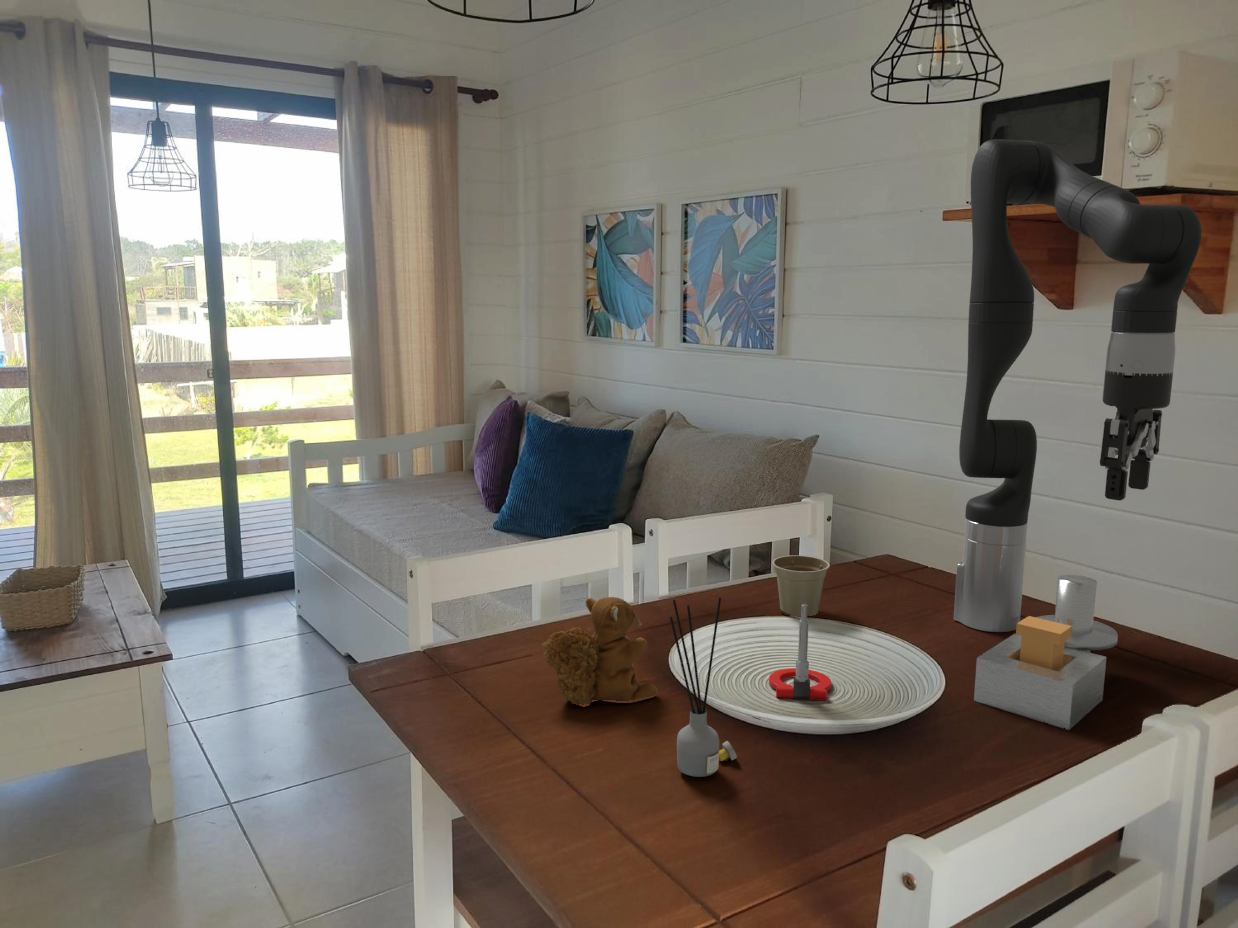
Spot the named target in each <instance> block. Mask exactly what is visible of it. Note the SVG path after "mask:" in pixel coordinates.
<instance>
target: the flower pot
mask: <svg viewBox="0 0 1238 928" xmlns="http://www.w3.org/2000/svg"><path fill="white" fill-rule="evenodd" d="M771 563H772V566H773V567H774V568H773V569H774V573H775V574H776V579H777V580H776V581H777V590H778V600H779V608H780V609H781V610H782V611H784V612H786V613H789V614H791V615H790V616H797V617H801V609H802V604H807V605H808V608H807V617H811V616H813V615H815V616H817V615H818V613H819V608H820V601H821V598H822V597H821V596H822V590H823V585H824V580H825V577H826V576H827V572H828V570H829V568H830V566H831V565H830V563H829V562H828V561H827V560H825V559H822V558H820V557H815V556H811V555H810V556H809V555H797V554H796V555H794V554H793V555H783V556H779V557H776V558H774V559H773V560H772V562H771ZM781 610H780V611H781ZM784 612H783V613H784ZM816 614H817V615H816ZM790 616H789V617H790ZM797 617H796V618H797ZM813 617H814V616H813Z"/></svg>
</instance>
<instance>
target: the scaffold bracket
mask: <svg viewBox="0 0 1238 928" xmlns="http://www.w3.org/2000/svg"><path fill="white" fill-rule="evenodd" d="M1097 585H1098V582H1097V580H1095V579H1094V578H1092V577H1087V576H1084V575H1079V574H1077V575H1076V574H1063V575H1059V576H1058V577H1057V586H1056V597H1055V609H1054V614H1048V615H1040V616H1036V618H1040V619H1044V620H1048V621H1053V622H1057V623H1061V624H1065V625H1070V626H1072V633H1071V638H1069V639H1068V640H1066V641H1065V643H1064V654H1063V666H1062V669H1061V670H1059V671H1055V670H1051V669H1047V668H1044V667H1040V666H1036V665H1032V664H1029V663H1025V662H1021V661H1020V650H1021V637H1022V636H1020V635H1016V633H1013V634H1012V635H1010V636H1008V637H1007V638H1005V639H1004V640H1002V641H1001V642H999V643H998V644H996V645H995V646H993V647H991V648H990V649H988V650H987V651H985V652H984V653H982V654H980V655H979V656H978V657H976V662H975V663H976V665H975V678H974V679H975V681H974V693H973V701H974V702H976V703H979V704H982V705H987V706H989V707H993V708H997V709H999V710H1003V711H1005V712H1009V713H1013V714H1016V715H1019V716H1022V717H1026V718H1029V719H1032V720H1035V721H1038V722H1041V723H1044V722H1045V724H1047V723H1048V725H1051V726H1054V727H1056V728H1057V727H1058V728H1061V729H1064V728H1065V729H1064V730H1066V731H1070V730H1071V729H1072V728H1073V727H1074V726H1075V725H1077V724H1078V723H1079V722H1080V721H1081V720H1082V719H1083V718H1085V717H1086V716H1087V714H1088V713H1090V712H1091V711H1092V710H1093V709H1094V708H1095V707H1097V705H1099V704H1100V703H1101V702H1102V701H1103V699H1104V698H1103V697H1104V688H1105V687H1104V686H1105V677H1106V676H1105V675H1106V667H1107V665H1106V664H1107V656H1104V655H1101V654H1098V653H1097V654H1096V653H1091V651H1103V650H1107V649H1111V648H1114V647H1115V646H1116V645H1117V643H1118V637H1119V636H1118V635H1119V633H1118V632H1117V630H1115V629H1114V628H1113V627H1112V626H1109V625H1108V624H1105V623H1103V622H1100V621H1097V620H1095V619H1094V617H1095V608H1096V607H1095V605H1096V596H1097V595H1096V594H1097Z"/></svg>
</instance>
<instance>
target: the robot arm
mask: <svg viewBox="0 0 1238 928" xmlns="http://www.w3.org/2000/svg"><path fill="white" fill-rule="evenodd" d="M1010 204H1011V205H1026V204H1038V205H1046V206H1051V207H1053V208H1055V209H1054V210H1055V212H1056V215H1057V217H1058V218H1059V219H1060V221H1061V222H1063V224H1065V225H1066V226H1067V227H1068V228H1070V229H1072V230H1074V231H1075V232H1077V233H1079V234H1081V235H1083V236H1085V237H1087V238H1089V239H1091V240H1093V242H1094V243H1095V244H1096V245H1097V247H1098V248H1099V249H1100V250H1101V252H1102V253H1103V254H1104V255H1105V256H1107V257H1108V258H1110V259H1112V260H1114V261H1117V262H1120V263H1124V264H1133V265H1134V264H1135V265H1136V264H1140V265H1141V264H1148V266H1147V269H1146V270H1145V272H1144V275H1143V277H1142V278H1141V280H1139V281H1137V282H1133V283H1130V284H1129V283H1128V284H1125V285H1124V286H1122V287H1120V288H1118V289H1117V291H1116V292H1115V295H1114V299H1113V300H1114V301H1113V308H1112V310H1113V311H1112V317H1111V329H1110V330H1111V332H1110V337H1109V340H1108V345H1107V350H1106V351H1107V352H1106V356H1105V357H1106V358H1105V369H1104V381H1103V382H1104V383H1103V391H1102V402H1103V404H1104V405H1106V406H1110V407H1115V408H1116V413H1115V418H1108V417H1107V418H1105V420H1104V423H1103V425H1104V426H1103V433H1102V442H1101V450H1100V451H1101V452H1100V459H1099V465H1100V467H1104V468H1105V470H1107V471H1106V478H1105V491H1104V497H1105V498H1106V499H1108V500H1113V501H1123V500H1125V498H1126V496H1127V485H1128V487H1129V488H1130V489H1135V490H1139V491H1140V490H1142V491H1143V490H1146V489H1148V487H1149V482H1150V480H1149V479H1150V474H1151V473H1150V472H1151V463H1152V462H1153V460H1154V458H1155V455H1158V454H1159V453H1160V452H1159V451H1160V439H1161V427H1162V416H1163V412H1162V409H1165V408H1168V407H1169V405H1170V404H1171V397H1172V396H1171V395H1172V388H1173V387H1172V386H1173V377H1174V368H1175V360H1176V359H1175V358H1176V340H1175V339H1176V333H1175V332H1176V327H1177V317H1178V308H1179V307H1178V305H1179V299H1180V297H1181V294H1182V292H1183V290H1184V287H1185V285H1186V283H1187V280H1188V277H1189V274H1190V273H1191V269H1192V267H1193V265H1194V262H1195V260H1196V259H1197V254H1198V252H1199V249H1200V246H1201V242H1202V225H1201V222H1200V219H1199V216H1198V214H1197V213H1196V212H1195V211H1194V210H1193V209H1192V208H1191V207H1188V206H1187V205H1183V204H1142V203H1141V201H1140V200H1139V198H1138V197H1137V196H1136V195H1135V194H1134V193H1133V192H1131V191H1129V190H1127V189H1125V188H1123V187H1121V186H1118V185H1116V184H1113V183H1111V182H1108V181H1105V180H1103V179H1100V178H1098V177H1096V176H1093V175H1091V174H1088V173H1086V172H1085V171H1083V170H1082V169H1080V168H1078V167H1077V166H1076V165H1074V164H1073V163H1071V162H1070V161H1068V160H1067V159H1066V158H1064V157H1063V156H1062V155H1061V154H1060V153H1059V152H1058V151H1056V150H1055V149H1053V148H1052V147H1050V146H1049V145H1047V144H1045V143H1043V142H1040V141H1035V140H1023V139H1022V140H1021V139H1020V140H1019V139H1000V138H999V139H998V138H997V139H989V140H987V141H984V142H983V143H982V144H981V145H980V146H979V148H978V149H977V151H976V153H975V154H974V159H973V162H972V166H971V173H970V207H971V211H970V212H971V229H972V230H971V232H972V238H971V239H972V256H971V258H972V260H971V282H970V294H969V301H968V302H969V305H968V322H967V323H968V324H967V328H968V329H967V330H968V332H967V334H968V335H967V371H966V385H965V391H964V392H965V395H964V401H963V403H964V404H963V411H962V418H961V427H960V438H959V448H958V451H959V453H958V454H959V459H958V460H959V466H960V469H961V471H962V474H964V475H965V476H966V477H968V478H979V479H1004V480H1003V482H1002V483H1001V484H1000V485H999V486H998V487H996V488H995V489H993V490H991V491H989V492H986V493H984V494H979V495H977V496H974V497H972V498H969V500H968V501H967V503H966V504H965V513H964V514H965V515H964V516H965V517H964V518H965V519H964V534H963V550H962V561H961V562H959V563H958V564H957V565H956V575H955V576H956V577H955V592H954V593H955V594H954V609H953V621H957V622H959V623H961V624H963V625H964V626H966V627H969V628H972V629H974V630H978V631H984V632H989V633H990V632H992V633H994V632H995V633H1006V632H1012V631H1016V625H1017V623H1018V622H1020V621H1021V617H1022V616H1021V615H1022V614H1021V610H1022V609H1021V608H1022V600H1023V599H1022V598H1023V585H1024V574H1025V573H1024V572H1025V562H1026V561H1025V559H1026V547H1027V534H1028V533H1027V532H1028V519H1029V512H1030V506H1031V499H1032V489H1033V481H1034V473H1035V468H1036V462H1037V461H1036V459H1037V450H1038V438H1037V431H1036V430H1035V429H1036V428H1035V427H1034V426H1033V424H1032V423H1031V422H1030V421H1028V420H1025V419H990V418H989V419H988V415H989V410H990V406H991V402H992V401H993V400H992V399H993V396H994V394H995V393H996V390H997V388H998V386H999V384H1000V383H1001V381H1002V380H1003V378H1004V377H1005V375H1006V374H1007V372H1008V371H1009V370H1010V368H1011V367H1012V365H1013V364H1014V363H1015V362H1016V360H1018V358H1019V356H1020V355H1021V353H1022V352H1023V351H1024V349H1025V348H1026V346H1027V344H1028V343H1029V342H1030V339H1031V336H1032V333H1033V325H1034V324H1033V323H1034V310H1035V309H1034V308H1035V303H1034V302H1035V291H1034V286H1033V284H1032V281H1031V278H1030V277H1029V274H1028V272H1027V269H1026V268H1025V266H1024V264H1023V263H1022V261H1021V259H1020V257H1019V254H1018V253H1017V252H1016V250H1015V247H1014V245H1013V243H1012V240H1011V238H1010V237H1011V236H1010V232H1009V227H1008V213H1007V211H1008V206H1007V205H1010Z"/></svg>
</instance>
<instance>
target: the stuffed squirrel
mask: <svg viewBox="0 0 1238 928" xmlns="http://www.w3.org/2000/svg"><path fill="white" fill-rule="evenodd" d="M585 607H586V608H587V609H588V611H589V613H590V614H591V622H592V623H593V634H592V635H591V634H590V633H589V632H587V630H584V629H583V628H581V627H579V626H578V627H571V629H569V630H560V631H557V632H553V633H552V634H551V635H550V636H549V638H547V640H546V641H544V642H542V643H541V646H543V647H544V648H545V649H547V650H545V651H544V653H542V655H544V660H545V663H546V664H548V666H550V668H553V670H555V672H556V675H557V678H558V680H557V681H556V683H557V684H556V685H557V687H558V690H559V692H560V695H562V696H563V697H564V698H566V700H567V701H568V702H570V701H571V702H570V703H571V704H572V705H574V703H575V704H577V705H579V704H582V705H584V704H589V703H590V702H591V701H592V700H616V701H629V700H635V699H639V698H644V697H649V696H653V695H655V694H657V695H658V693H659V691H658V690H659V689H658V688H657V686H655V685H654V684H653V683H650V682H639V683H638V682H637V679H636V671H635V666H634V663H633V662H634V661H635V660H637V659H639V658H640V657H642V656H644V655H645V654H646V652H647V650H648V644H649V643H648V641H647V640H646V639H645V638H643V637H641V636H640V637H637V638H635V639H633V640H631V638H629V637H628V636H626V632H627V631H628V630H629V629H630V628H631V626H633V624H634V622H636V624H637V627H638V628H640V627H641V626H642V625H643V623H642V622H641V620H640V619H639V617H638V616H637V614H636V613H635V612H634V609H633V606H632V605H631V604H630V603H628V602H627V601H625V600H624V599H623V598H619V597H616V596H607V597H603V598H599V599H598V600H595V599H594V598H592V597H589V598H587V599H586V600H585ZM577 705H576V706H577Z"/></svg>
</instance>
